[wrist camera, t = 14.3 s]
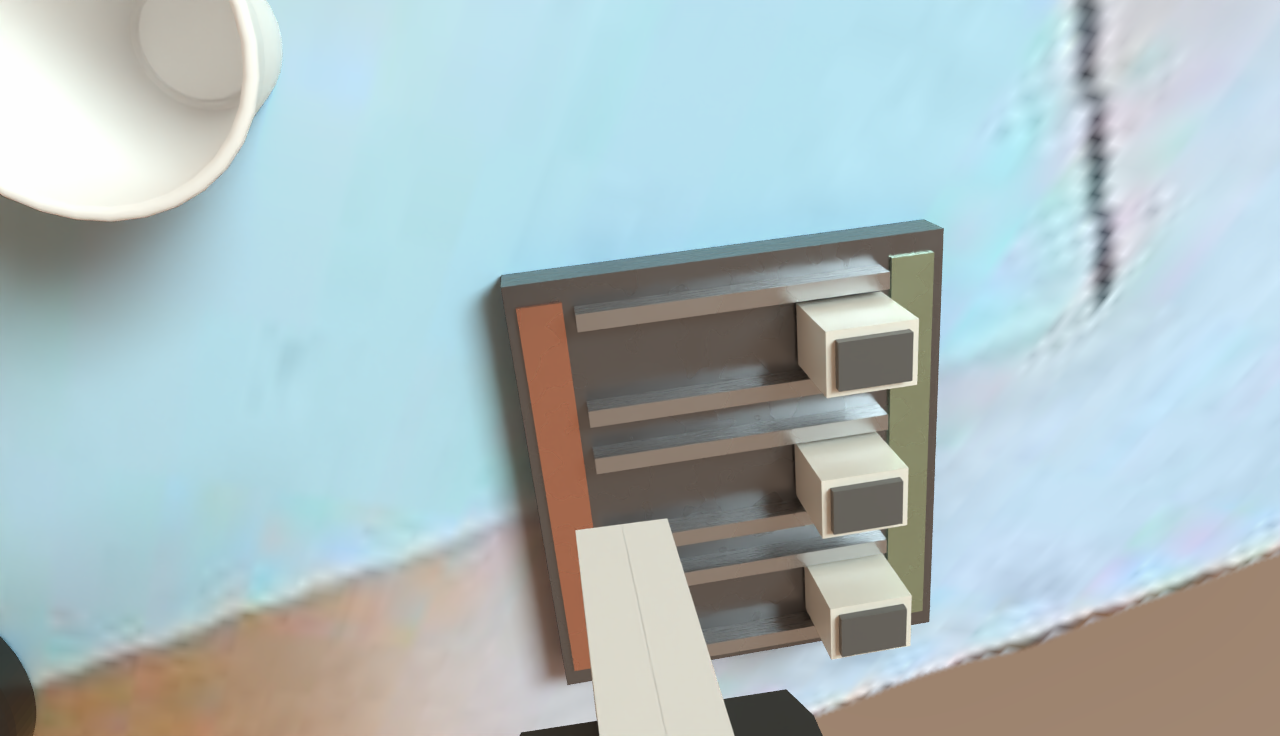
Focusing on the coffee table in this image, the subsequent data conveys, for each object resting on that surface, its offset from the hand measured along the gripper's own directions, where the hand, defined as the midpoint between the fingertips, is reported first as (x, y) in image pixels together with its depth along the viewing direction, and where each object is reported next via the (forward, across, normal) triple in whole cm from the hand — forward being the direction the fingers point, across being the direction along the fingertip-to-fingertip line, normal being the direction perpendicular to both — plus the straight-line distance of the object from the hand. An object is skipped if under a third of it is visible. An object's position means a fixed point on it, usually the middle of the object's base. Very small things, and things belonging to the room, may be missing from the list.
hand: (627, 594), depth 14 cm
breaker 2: (+24, +12, -12) cm, 30 cm away
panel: (+26, +8, -12) cm, 30 cm away
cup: (+27, -13, +9) cm, 31 cm away
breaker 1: (+24, +12, -5) cm, 28 cm away
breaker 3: (+24, +13, -19) cm, 33 cm away
